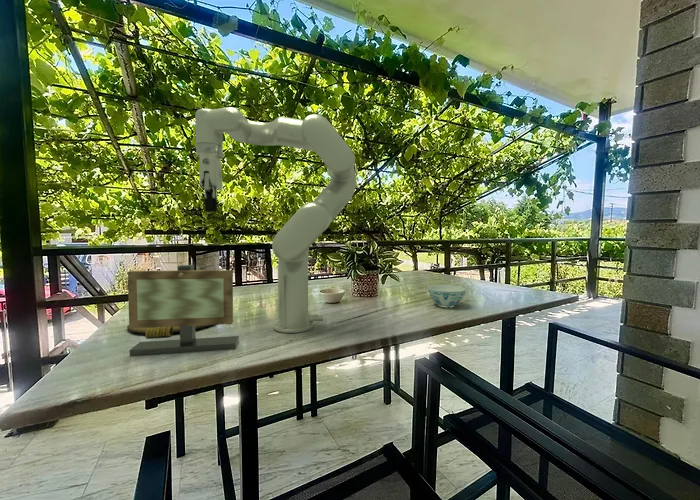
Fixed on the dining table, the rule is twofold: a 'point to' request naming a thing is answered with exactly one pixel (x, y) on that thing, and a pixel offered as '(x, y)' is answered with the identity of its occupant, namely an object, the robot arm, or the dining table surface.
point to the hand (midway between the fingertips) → (211, 211)
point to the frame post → (185, 340)
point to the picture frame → (180, 298)
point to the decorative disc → (159, 330)
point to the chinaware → (446, 294)
